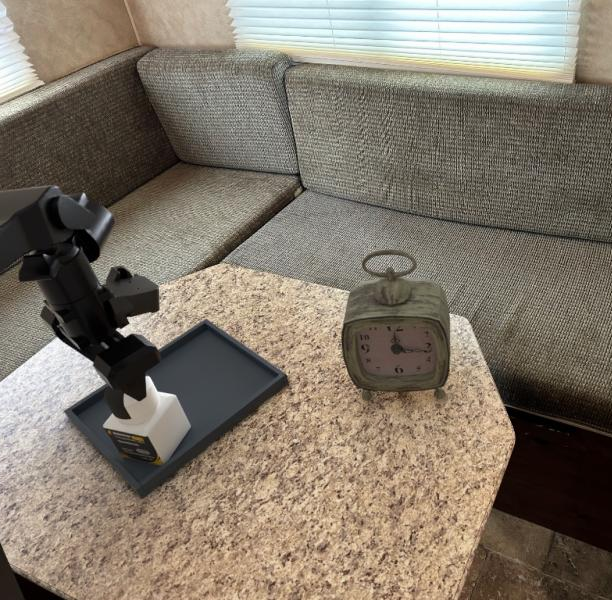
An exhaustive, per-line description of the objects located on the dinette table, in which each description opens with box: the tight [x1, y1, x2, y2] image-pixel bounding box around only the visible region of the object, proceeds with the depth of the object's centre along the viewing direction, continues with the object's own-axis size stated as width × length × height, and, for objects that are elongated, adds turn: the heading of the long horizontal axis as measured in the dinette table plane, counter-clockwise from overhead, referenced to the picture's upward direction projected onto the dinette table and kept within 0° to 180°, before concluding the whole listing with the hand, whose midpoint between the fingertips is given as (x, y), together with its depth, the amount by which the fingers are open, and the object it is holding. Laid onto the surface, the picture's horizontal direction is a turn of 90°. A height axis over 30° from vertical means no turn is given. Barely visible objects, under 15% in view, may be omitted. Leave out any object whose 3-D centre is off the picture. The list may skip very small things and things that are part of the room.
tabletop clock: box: [340, 249, 451, 401], centre depth 83 cm, size 14×9×25 cm, turn 86°
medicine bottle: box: [103, 374, 191, 466], centre depth 82 cm, size 7×7×12 cm
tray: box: [63, 318, 290, 499], centre depth 92 cm, size 26×22×2 cm
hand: (124, 382), depth 79 cm, fingers open, 9 cm apart
